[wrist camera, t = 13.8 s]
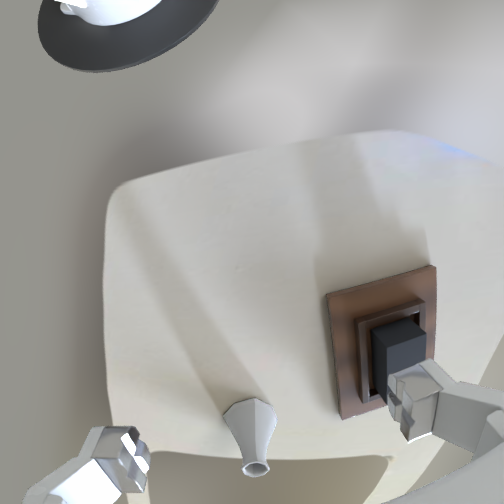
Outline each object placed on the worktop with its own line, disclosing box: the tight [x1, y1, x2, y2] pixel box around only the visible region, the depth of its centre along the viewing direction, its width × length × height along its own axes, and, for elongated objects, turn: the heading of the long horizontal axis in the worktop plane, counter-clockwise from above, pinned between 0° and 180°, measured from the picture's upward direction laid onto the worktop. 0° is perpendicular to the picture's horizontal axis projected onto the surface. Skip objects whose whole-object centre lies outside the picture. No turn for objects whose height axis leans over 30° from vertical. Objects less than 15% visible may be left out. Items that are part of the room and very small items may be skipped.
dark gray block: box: [370, 317, 427, 405], centre depth 36 cm, size 9×6×5 cm, turn 12°
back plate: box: [326, 265, 437, 420], centre depth 38 cm, size 20×15×3 cm
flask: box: [223, 398, 278, 477], centre depth 36 cm, size 7×7×10 cm
